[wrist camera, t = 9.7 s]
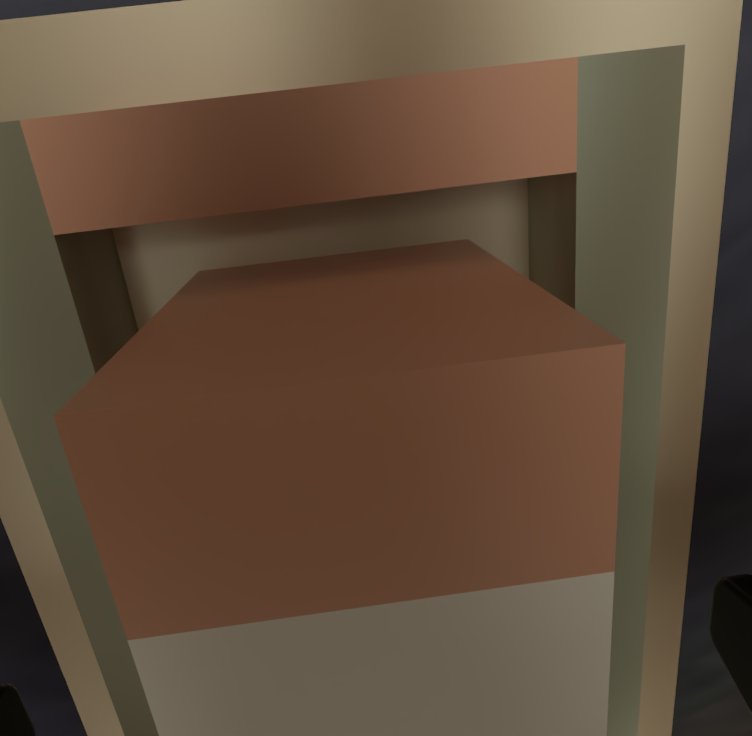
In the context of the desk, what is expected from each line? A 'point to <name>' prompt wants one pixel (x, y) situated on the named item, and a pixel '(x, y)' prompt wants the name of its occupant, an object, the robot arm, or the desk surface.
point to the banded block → (360, 499)
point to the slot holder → (361, 234)
